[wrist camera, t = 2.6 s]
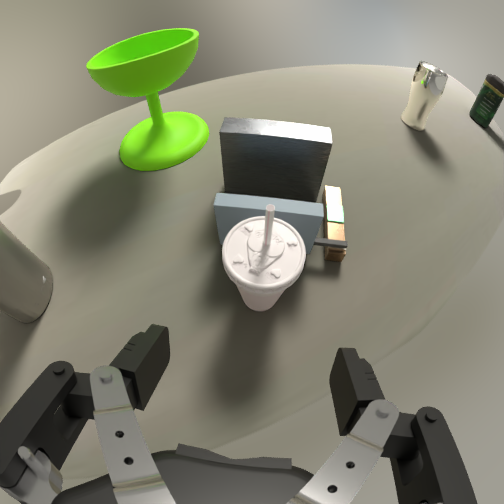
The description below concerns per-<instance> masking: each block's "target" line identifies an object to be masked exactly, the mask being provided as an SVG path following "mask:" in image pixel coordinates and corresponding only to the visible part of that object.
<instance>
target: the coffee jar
mask: <svg viewBox="0 0 504 504" xmlns="http://www.w3.org/2000/svg"><path fill="white" fill-rule="evenodd" d="M503 98H504V82H503V81H502V80H501V79H500V78H498V77H497V76H495V75H491V74H488V75H487V77H486V79H485V81H484V84H483V85H482V88H481V90H480V92H479V94H478V96H477V98H476V100H475V102H474V104H473V106H472V108H471V110H470V116H471V117H472V118H473V119H474V120H475V121H476V122H477V123H478V124H480V125H482V126H483V127H485V128H486V127H488V125H489V124H490V122H491V120H492V119H493V117H494V115H495V113H496V111H497V110H498V108H499V106H500V103H501V102H502V100H503Z"/></svg>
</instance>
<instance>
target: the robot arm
mask: <svg viewBox="0 0 504 504" xmlns="http://www.w3.org/2000/svg"><path fill="white" fill-rule="evenodd" d="M52 285H53V283H52V275H51V271H50V269H49V268H48V266H47V265H46V264H45V263H43V262H42V261H41V260H40V259H39V258H38V257H37V256H36V255H34V254H33V253H32V252H31V251H30V250H29V249H28V248H27V247H26V246H25V245H24V244H23V243H22V242H21V241H20V240H19V239H17V238H16V237H15V236H14V235H13V234H12V233H11V232H10V231H9V230H8V229H7V228H6V227H5V226H4V225H3V223H2V222H1V221H0V311H2V312H3V313H5V314H7V315H9V316H11V317H13V318H15V319H17V320H19V321H21V322H23V323H29V322H32V321H34V320H36V319H37V318H38V317H39V316H40V315H41V314H42V313H43V312H44V310H45V308H46V307H47V305H48V302H49V300H50V297H51V293H52ZM169 360H170V345H169V331H168V328H167V327H164V326H159V325H154V324H152V325H151V326H150V327H149V328H148V330H147V331H146V332H145V333H144V332H140V333H138V334H136V335H134V336H133V337H132V338H131V339H130V340H129V341H128V343H127V344H126V345H125V346H124V348H123V349H122V350H121V351H120V352H119V354H118V355H117V356H116V357H115V359H114V360H113V361H112V362H111V364H110V365H109V366H100V367H98V368H96V369H94V370H93V371H92V372H91V374H88V373H78V372H75V371H74V369H73V366H72V365H71V364H70V363H68V362H65V361H57V362H54V363H52V364H50V365H49V366H48V367H47V368H46V369H45V370H44V371H43V372H42V373H41V375H40V376H39V377H38V378H37V379H36V380H35V381H34V383H33V384H32V385H31V386H30V387H29V388H28V390H27V391H26V392H25V393H24V394H23V395H22V397H21V398H20V399H19V400H18V401H17V403H16V404H15V405H14V406H13V408H12V409H11V410H10V411H9V413H8V414H7V415H6V416H5V418H4V419H3V420H2V421H1V423H0V487H1V488H2V489H3V490H4V491H5V492H7V493H8V494H9V495H10V496H11V497H13V498H14V499H16V500H18V501H19V502H20V503H21V504H350V503H351V501H352V500H353V499H354V497H355V495H356V494H357V493H358V491H359V490H360V488H361V487H362V485H363V484H364V482H365V481H366V479H367V478H368V476H369V474H370V472H371V471H372V469H373V468H374V466H375V464H376V463H377V461H378V459H379V457H388V458H390V461H391V466H392V471H393V475H394V480H395V485H396V491H397V496H398V502H399V504H477V501H476V498H475V494H474V491H473V488H472V486H471V482H470V480H469V477H468V474H467V471H466V469H465V466H464V463H463V461H462V458H461V456H460V453H459V451H458V448H457V446H456V444H455V441H454V439H453V436H452V435H451V432H450V430H449V428H448V425H447V423H446V421H445V419H444V417H443V415H442V413H441V412H440V411H439V410H437V409H436V408H433V407H423V408H421V409H419V410H418V412H417V413H416V415H414V414H406V413H401V412H399V410H398V408H397V407H396V405H394V404H393V403H392V402H390V401H387V400H385V398H384V395H383V393H382V390H381V388H380V386H379V383H378V381H377V380H376V376H375V374H374V371H373V369H372V367H371V365H370V364H369V363H368V362H367V361H366V360H365V359H359V356H358V354H357V351H356V349H355V348H339V349H338V351H337V354H336V357H335V361H334V364H333V367H332V370H331V373H330V388H331V393H332V398H333V403H334V407H335V413H336V418H337V423H338V428H339V434H340V436H346V437H345V438H344V440H343V441H342V442H341V444H340V445H339V446H338V447H337V449H336V450H335V451H334V453H333V454H332V455H331V456H330V458H329V459H328V460H327V461H326V462H325V464H324V465H323V466H322V467H321V468H320V469H319V471H318V472H317V473H316V474H315V475H313V474H311V473H310V472H308V471H306V470H304V469H301V468H298V467H295V466H292V465H291V458H271V457H259V458H249V459H230V458H227V457H225V456H222V455H219V454H216V453H214V452H211V451H209V450H206V449H202V448H197V447H192V446H187V445H183V444H178V447H177V450H166V451H160V452H156V453H152V454H150V451H149V449H148V447H147V444H146V442H145V440H144V437H143V435H142V432H141V430H140V427H139V424H138V422H137V419H136V416H135V414H134V409H135V408H136V409H140V410H143V411H144V409H145V407H146V405H147V403H148V401H149V399H150V397H151V396H152V394H153V392H154V390H155V388H156V386H157V384H158V382H159V380H160V379H161V377H162V375H163V373H164V371H165V369H166V367H167V366H168V363H169ZM59 406H60V407H59ZM58 407H59V408H58ZM57 409H58V410H57ZM56 410H57V411H56ZM54 413H55V414H54ZM88 419H94V420H95V424H96V428H97V433H98V437H99V441H100V445H101V449H102V452H103V456H104V459H105V463H106V466H107V469H108V472H109V473H108V474H106V475H104V476H101V477H99V478H97V479H94V480H91V481H89V482H86V483H84V484H81V485H78V486H76V487H73V488H70V489H67V490H65V491H62V492H61V490H62V483H63V478H62V475H61V473H60V469H61V467H62V465H63V463H64V461H65V459H66V458H67V456H68V454H69V452H70V450H71V449H72V447H73V445H74V443H75V441H76V440H77V438H78V436H79V434H80V433H81V431H82V429H83V427H84V426H85V424H86V422H87V420H88Z"/></svg>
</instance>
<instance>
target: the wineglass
mask: <svg viewBox="0 0 504 504" xmlns="http://www.w3.org/2000/svg"><path fill="white" fill-rule="evenodd" d="M198 38H199V33H198V31H196V30H194V29H188V28H175V29H165V30H159V31H153V32H149V33H145V34H141V35H138V36H135V37H132V38H129V39H126V40H124V41H121V42H119V43H117V44H114V45H112V46H110V47H108V48H106V49H105V50H103V51H101V52H99V53H98V54H97V55H95V56H94V57H93V58H91V59H90V61H89V62H88V63H87V66H86V67H87V69H88V71H89V73H90V75H91V77H92V79H94V81H96V82H97V83H98V84H99V85H100V86H101V87H102V88H103V89H105V90H107V91H109V92H111V93H113V94H115V95H120V96H128V97H139V96H145V95H146V98H147V102H148V106H149V110H150V114H151V117H150V118H148V119H146V120H144V121H142V122H140V123H139V124H137V125H136V126H135V127H133V128H132V129H131V130H130V131H129V132H128V133H127V134H126V136H125V137H124V139H123V141H122V143H121V146H120V150H119V153H120V159H121V160H122V162H123V163H124V164H125V165H126V166H128V167H130V168H132V169H135V170H140V171H155V170H160V169H165V168H169V167H171V166H174V165H177V164H180V163H182V162H183V161H185V160H187V159H189V158H191V157H192V156H194V155H195V154H196V153H197V152H198V151H200V150H201V149H202V147H203V146H204V145H205V143H206V142H207V140H208V136H209V129H208V126H207V124H206V123H205V122H204V120H203V119H201V118H200V117H198V116H197V115H194V114H191V113H187V112H168V113H162V109H161V104H160V100H159V95H158V91H160V90H162V89H165V88H166V87H168V86H169V85H171V84H172V83H174V82H175V81H176V80H177V79H178V78H179V77H181V76H182V75H183V74H184V72H185V71H186V70H187V68H188V67H189V65H190V64H191V63H192V61H193V60H194V57H195V54H196V52H197V49H198Z"/></svg>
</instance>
